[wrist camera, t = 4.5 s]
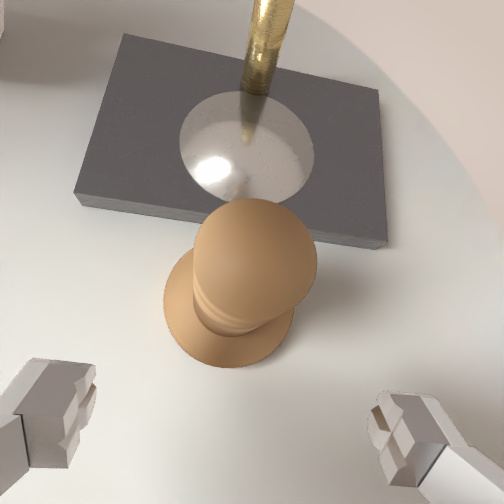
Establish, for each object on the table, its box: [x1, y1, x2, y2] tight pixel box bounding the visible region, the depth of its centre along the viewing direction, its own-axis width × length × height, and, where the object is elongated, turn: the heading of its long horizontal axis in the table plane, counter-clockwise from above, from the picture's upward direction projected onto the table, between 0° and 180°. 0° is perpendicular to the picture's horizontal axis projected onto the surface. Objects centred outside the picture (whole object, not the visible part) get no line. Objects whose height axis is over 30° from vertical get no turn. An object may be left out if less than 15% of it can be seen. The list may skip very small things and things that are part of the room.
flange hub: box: [164, 198, 317, 368], centre depth 14 cm, size 7×7×8 cm
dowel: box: [241, 0, 295, 96], centre depth 19 cm, size 2×2×6 cm
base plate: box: [73, 34, 388, 250], centre depth 21 cm, size 18×12×2 cm, turn 85°
